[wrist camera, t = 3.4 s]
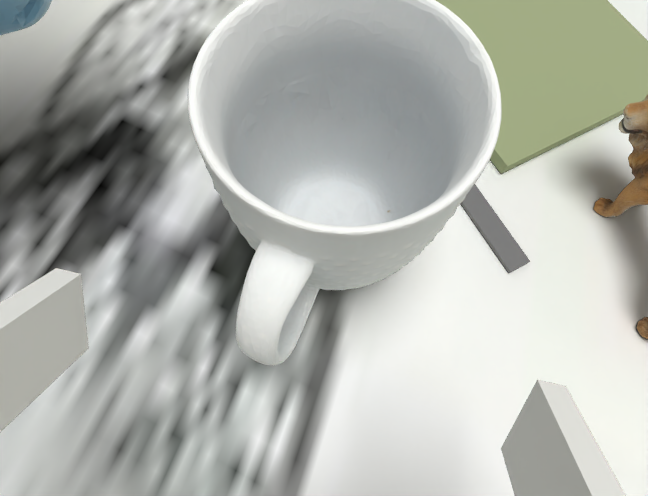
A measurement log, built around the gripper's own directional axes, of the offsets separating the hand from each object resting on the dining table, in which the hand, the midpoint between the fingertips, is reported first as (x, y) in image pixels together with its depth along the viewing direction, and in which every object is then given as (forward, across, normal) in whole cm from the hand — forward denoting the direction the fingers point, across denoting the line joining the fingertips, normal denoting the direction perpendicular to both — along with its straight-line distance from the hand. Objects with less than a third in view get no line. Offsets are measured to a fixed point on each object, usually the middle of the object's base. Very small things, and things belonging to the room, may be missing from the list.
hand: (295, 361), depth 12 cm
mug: (+14, -1, -3) cm, 15 cm away
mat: (+28, +11, +11) cm, 32 cm away
